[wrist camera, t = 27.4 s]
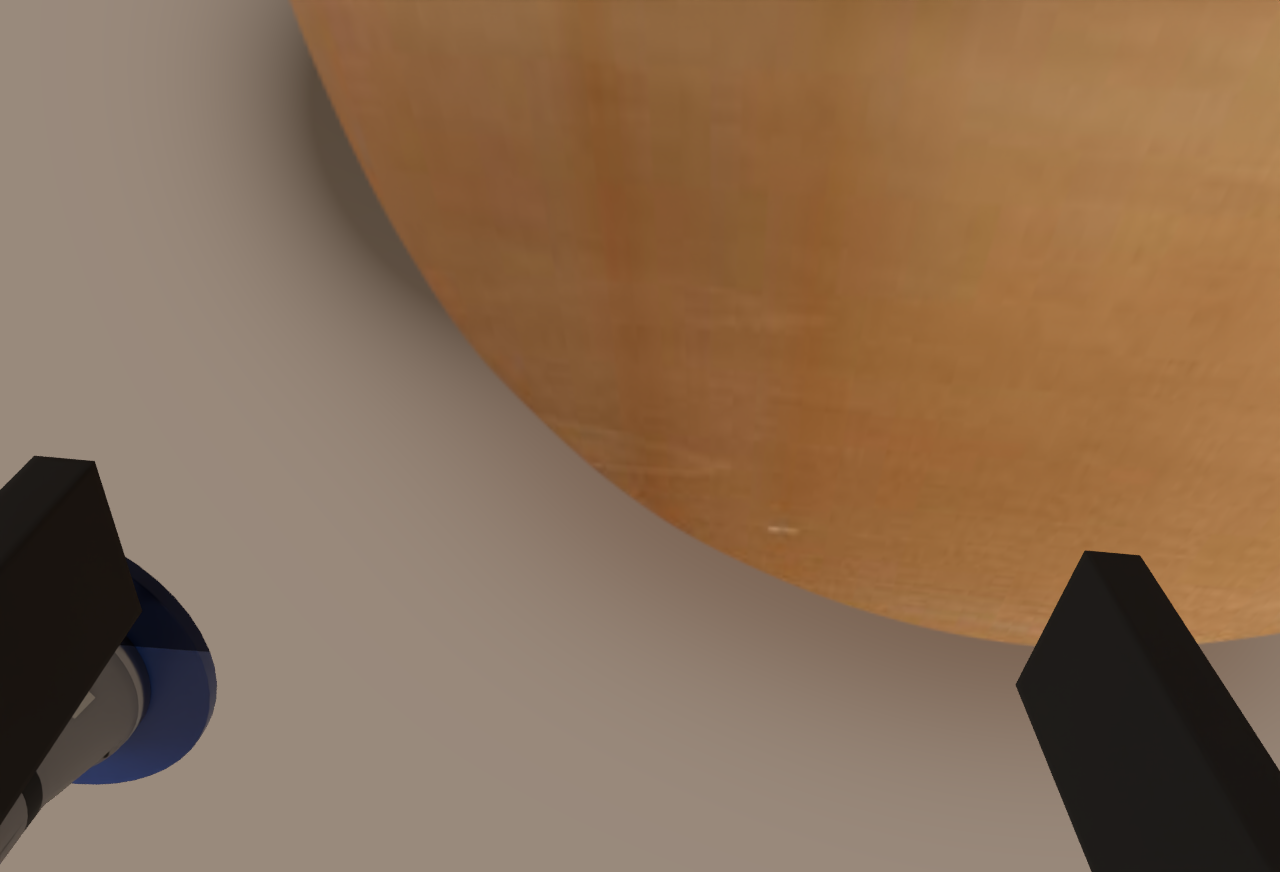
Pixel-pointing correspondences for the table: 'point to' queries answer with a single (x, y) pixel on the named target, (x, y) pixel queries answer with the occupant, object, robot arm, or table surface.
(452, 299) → the table surface
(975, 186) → the table surface
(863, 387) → the table surface
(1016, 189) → the table surface
